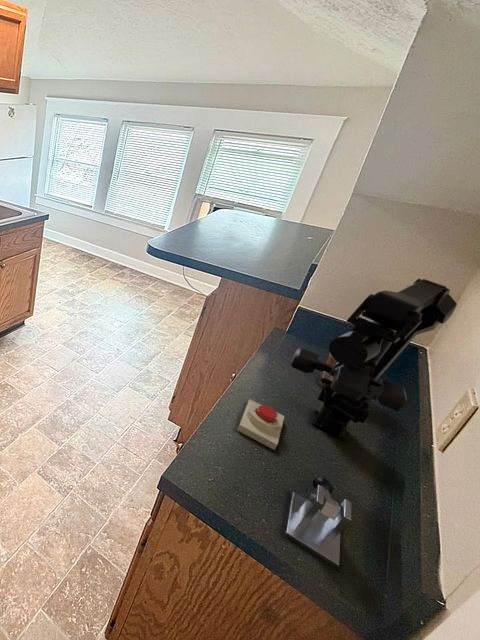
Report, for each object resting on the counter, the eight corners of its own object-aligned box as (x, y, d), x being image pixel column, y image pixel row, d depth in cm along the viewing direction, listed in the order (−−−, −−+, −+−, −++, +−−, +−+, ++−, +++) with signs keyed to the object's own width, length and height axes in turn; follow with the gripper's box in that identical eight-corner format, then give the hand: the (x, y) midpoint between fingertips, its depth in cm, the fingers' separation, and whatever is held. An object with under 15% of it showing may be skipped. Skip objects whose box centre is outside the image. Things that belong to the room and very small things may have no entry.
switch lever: (309, 484, 81) (316, 471, 80) (327, 494, 79) (334, 481, 78) (315, 512, 70) (323, 497, 69) (337, 524, 68) (345, 509, 68)
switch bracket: (290, 495, 79) (310, 468, 75) (338, 522, 75) (362, 495, 71) (283, 535, 72) (305, 508, 67) (336, 569, 67) (362, 541, 63)
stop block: (246, 405, 102) (252, 394, 100) (280, 422, 97) (287, 410, 95) (236, 431, 93) (242, 419, 91) (273, 451, 89) (281, 439, 87)
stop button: (257, 407, 96) (260, 402, 95) (275, 416, 94) (278, 411, 93) (254, 416, 93) (257, 411, 92) (273, 425, 91) (276, 420, 90)
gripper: (305, 346, 77) (272, 402, 85) (430, 395, 67) (381, 453, 75) (309, 325, 85) (279, 377, 92) (423, 366, 75) (379, 421, 82)
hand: (325, 405), depth 85 cm, fingers closed
